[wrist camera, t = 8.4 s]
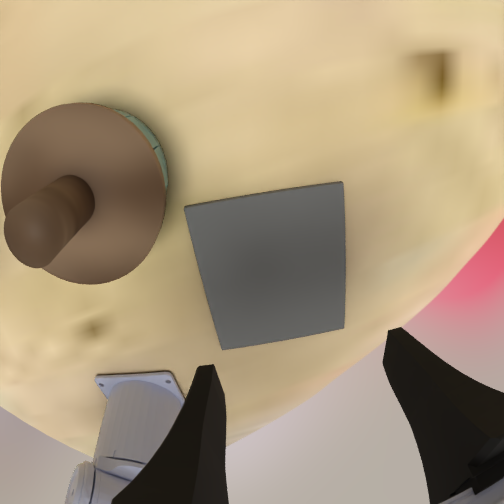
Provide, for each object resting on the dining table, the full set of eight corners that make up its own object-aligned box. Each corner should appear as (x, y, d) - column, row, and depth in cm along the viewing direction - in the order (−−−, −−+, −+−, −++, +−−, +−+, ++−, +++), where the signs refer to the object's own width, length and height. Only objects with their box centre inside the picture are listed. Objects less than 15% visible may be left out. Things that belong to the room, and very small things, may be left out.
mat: (342, 325, 25) (344, 328, 25) (221, 346, 25) (221, 350, 25) (341, 181, 20) (343, 183, 19) (184, 206, 20) (183, 208, 19)
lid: (191, 253, 17) (180, 313, 12) (51, 291, 18) (16, 344, 13) (132, 72, 12) (89, 62, 8) (-11, 148, 13) (-70, 173, 8)
